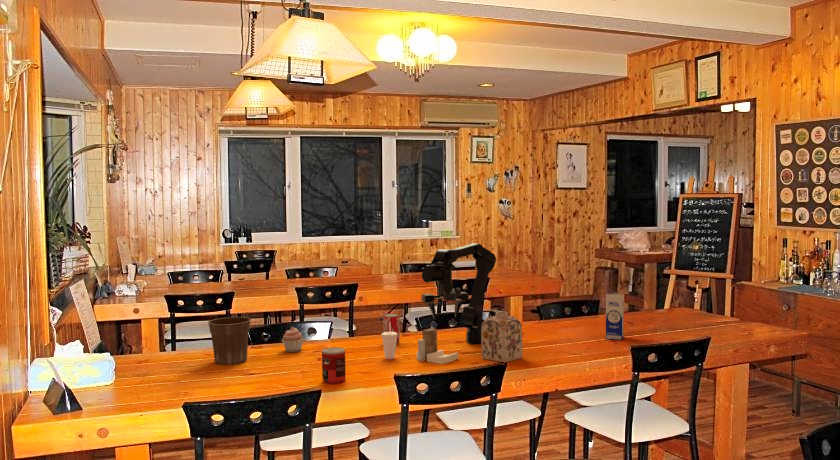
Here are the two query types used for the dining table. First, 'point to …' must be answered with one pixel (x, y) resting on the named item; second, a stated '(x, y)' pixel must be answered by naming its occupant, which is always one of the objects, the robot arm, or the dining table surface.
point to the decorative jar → (501, 338)
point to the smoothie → (389, 343)
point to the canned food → (333, 365)
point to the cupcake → (293, 340)
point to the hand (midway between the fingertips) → (445, 318)
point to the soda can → (392, 324)
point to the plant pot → (230, 339)
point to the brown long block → (430, 341)
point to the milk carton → (614, 316)
